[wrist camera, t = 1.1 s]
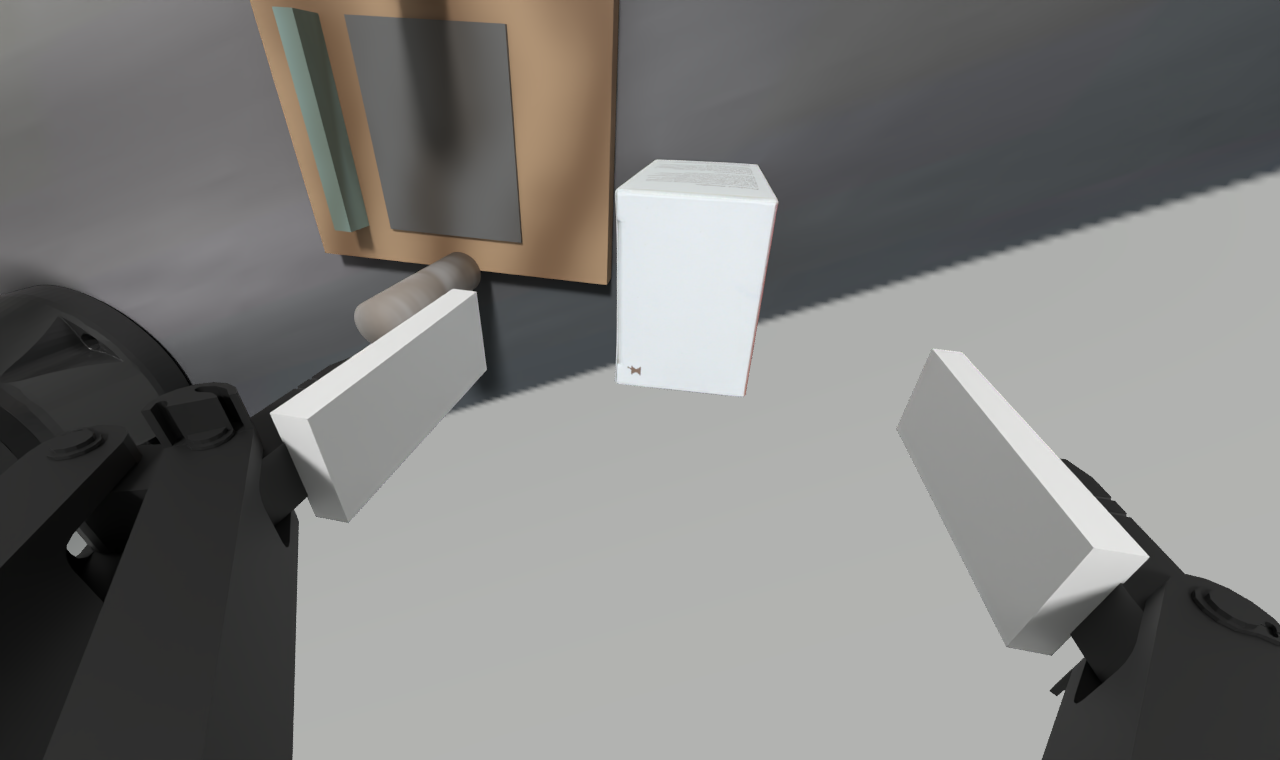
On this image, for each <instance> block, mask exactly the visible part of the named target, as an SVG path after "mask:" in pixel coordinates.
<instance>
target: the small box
mask: <svg viewBox="0 0 1280 760" xmlns="http://www.w3.org/2000/svg"><path fill="white" fill-rule="evenodd" d="M615 203H616V223H617V349H616V368H615V383H617V384H625V385H634V386H642V387H651V388H660V389H671V390H679V391H689V392H697V393H706V394H716V395H726V396H737V397H744V396H745V395H746V389H747V383H748V377H749V371H750V365H751V359H752V353H753V348H754V342H755V336H756V330H757V324H758V318H759V312H760V307H761V301H762V295H763V289H764V283H765V277H766V271H767V265H768V259H769V253H770V248H771V242H772V236H773V230H774V224H775V218H776V212H777V207H778V199H777V198H776V196H775V194H774V193H773V191H772V189H771V187H770V186H769V184H768V182H767V180H766V179H765V177H764V175H763V173H762V172H761V170H760V168H759V166H758V165H753V164H740V163H723V162H702V161H682V160H655V161H653V162H652V163H651V164H649V165H648V166H647V167H645V168H644V169H643V170H641V171H640V172H638V173H637V174H636V175H634V176H633V177H632V178H631V179H629V180H628V181H627V182H625V183H624V184H623V185H622V186H620V187H619V188H618V189H617V190H616V191H615Z"/></svg>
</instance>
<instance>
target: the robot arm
mask: <svg viewBox="0 0 1280 760" xmlns="http://www.w3.org/2000/svg"><path fill="white" fill-rule="evenodd" d="M486 370H487V367H486V359H485V352H484V344H483V336H482V329H481V321H480V314H479V306H478V299H477V292H475V291H467V290H459V289H452V290H450V291H449V292H447V293H446V294H444V295H443V296H441V297H440V298H438V299H437V300H435V301H434V302H433V303H431V304H430V305H428V306H427V307H425V308H424V309H422V310H421V311H419V312H418V313H416V314H415V315H413V316H412V317H410V318H409V319H407V320H406V321H405V322H403V323H402V324H400V325H399V326H397V327H396V328H394V329H393V330H391V331H390V332H388V333H387V334H385V335H384V336H382V337H381V338H379V339H378V340H377V341H375V342H374V343H372V344H371V345H369V346H368V347H366V348H365V349H363V350H362V351H360V352H359V353H357V354H356V355H354V356H353V357H350V358H347V359H345V360H342V361H340V362H337V363H335V364H332V365H330V366H328V367H326V368H325V369H323V370H322V371H320V372H319V373H317V374H316V375H314V376H313V377H312V379H311V380H310V379H308V380H307V381H305V382H304V383H302V384H301V385H299V386H298V389H293V390H292V391H290V392H289V393H287V394H286V395H284V396H283V397H281V398H280V399H278V400H277V401H275V402H273V403H272V404H270V405H269V406H267V407H266V408H264V409H263V410H261V411H260V412H258V413H257V414H255V415H254V416H252V417H251V418H250V417H249V415H248V412H247V410H246V408H245V406H244V404H243V402H242V400H241V398H240V396H239V394H238V391H237V389H236V387H234V386H232V385H230V384H227V383H216V382H212V383H203V384H195V385H191V386H189V384H188V382H187V380H186V379H185V377H184V375H183V374H182V372H181V371H180V369H179V368H178V367H177V365H176V364H175V363H174V361H173V360H172V359H171V358H170V356H169V355H168V354H167V353H166V352H165V351H164V350H163V349H162V347H161V346H160V345H159V344H158V343H157V342H156V341H155V340H154V339H152V338H151V337H150V336H149V335H148V334H147V333H146V332H145V331H143V330H142V329H141V328H140V327H139V326H137V325H136V324H135V323H133V322H132V321H131V320H129V319H128V318H127V317H125V316H124V315H122V314H121V313H119V312H118V311H116V310H115V309H113V308H111V307H110V306H108V305H106V304H104V303H102V302H101V301H99V300H97V299H95V298H92V297H90V296H88V295H86V294H83V293H80V292H78V291H75V290H72V289H68V288H64V287H59V286H52V285H38V286H33V287H29V288H25V289H22V290H18V291H14V292H11V293H7V294H3V295H0V760H292V754H293V716H294V677H295V641H296V604H297V603H296V602H297V567H298V566H297V565H298V564H297V563H298V530H299V527H298V526H299V521H298V518H297V515H296V513H295V511H294V509H295V508H296V507H297V506H298V505H299V504H300V503H301V502H302V501H303V500H304V499H305V498H306V497H308V500H309V502H310V504H311V507H312V509H313V511H314V513H315V516H316V517H320V518H326V519H331V520H336V521H342V522H347V523H349V522H350V521H351V519H352V518H353V517H354V516H355V515H356V514H357V513H358V512H359V510H360V509H361V508H362V507H363V506H364V505H365V504H366V503H367V502H368V501H369V500H370V498H371V497H372V496H373V495H374V494H375V493H376V492H377V490H379V488H380V487H381V486H382V485H383V484H384V483H385V482H386V481H387V480H388V478H389V477H390V476H391V475H392V474H393V473H394V472H395V471H396V470H397V469H398V467H399V466H400V465H401V464H402V463H403V462H404V461H405V460H406V458H408V456H409V455H410V454H411V453H412V452H413V451H414V450H415V449H416V447H417V446H418V445H419V444H420V443H421V442H422V441H423V440H424V439H425V438H426V437H427V435H428V434H429V433H430V432H431V431H432V430H433V429H434V428H435V427H436V425H437V424H438V423H439V422H440V421H441V420H442V419H443V418H444V417H445V416H446V414H447V413H448V412H449V411H450V410H451V409H452V408H453V407H454V406H455V404H456V403H457V402H458V401H459V400H460V399H461V398H462V397H463V396H464V394H465V393H466V392H467V391H468V390H469V389H470V388H471V387H472V386H473V385H474V383H475V382H476V381H477V380H478V379H479V378H480V377H481V376H482V375H483V373H484V372H485V371H486ZM897 431H898V433H899V435H900V437H901V439H902V441H903V443H904V445H905V447H906V449H907V451H908V453H909V455H910V457H911V458H912V461H913V463H914V465H915V467H916V468H917V471H918V472H919V474H920V477H921V479H922V481H923V483H924V484H925V487H926V488H927V490H928V492H929V494H930V496H931V498H932V500H933V502H934V504H935V506H936V508H937V510H938V512H939V514H940V516H941V518H942V520H943V522H944V524H945V526H946V528H947V530H948V532H949V534H950V536H951V538H952V540H953V542H954V544H955V546H956V548H957V550H958V552H959V554H960V556H961V558H962V560H963V562H964V564H965V566H966V568H967V570H968V572H969V574H970V576H971V577H972V580H973V582H974V584H975V586H976V588H977V590H978V592H979V594H980V596H981V598H982V600H983V602H984V604H985V606H986V608H987V610H988V612H989V614H990V615H991V617H992V620H993V622H994V623H995V625H996V627H997V629H998V631H999V633H1000V635H1001V637H1002V639H1003V641H1004V643H1005V645H1006V647H1009V648H1014V649H1020V650H1025V651H1031V652H1035V653H1041V654H1046V655H1051V656H1052V655H1053V654H1054V653H1055V652H1056V651H1057V650H1058V649H1059V648H1060V647H1061V646H1062V645H1063V644H1064V643H1065V642H1066V641H1067V640H1068V639H1069V638H1070V637H1071V636H1072V638H1073V639H1074V641H1075V643H1076V644H1077V646H1078V647H1079V649H1080V650H1081V652H1082V654H1083V655H1084V658H1083V659H1082V660H1081V661H1080V662H1079V663H1078V664H1077V665H1076V666H1075V667H1074V668H1073V669H1071V670H1070V671H1069V672H1068V673H1067V674H1066V675H1065V676H1064V677H1063V678H1062V679H1061V680H1060V681H1059V682H1058V683H1057V684H1055V686H1054V687H1053V688H1052V689H1051V690H1050V692H1052V693H1053V694H1055V695H1056V696H1058V695H1059V694H1060V693H1061V692H1062V691H1063V690H1065V693H1064V696H1063V699H1062V702H1061V705H1060V708H1059V711H1058V714H1057V717H1056V720H1055V722H1054V725H1053V728H1052V731H1051V734H1050V737H1049V740H1048V743H1047V746H1046V749H1045V752H1044V755H1043V758H1042V760H1280V625H1279V623H1278V622H1277V621H1276V620H1275V619H1274V618H1273V617H1271V616H1270V615H1268V614H1267V613H1266V612H1265V611H1263V610H1262V609H1261V608H1259V607H1258V606H1257V605H1255V604H1254V603H1253V602H1251V601H1249V600H1248V599H1246V598H1244V597H1242V596H1241V595H1239V594H1237V593H1236V592H1234V591H1232V590H1230V589H1229V588H1226V587H1224V586H1221V585H1219V584H1217V583H1214V582H1212V581H1210V580H1207V579H1204V578H1200V577H1196V576H1191V575H1187V574H1184V573H1183V572H1182V571H1181V569H1179V567H1178V566H1177V565H1176V564H1175V563H1174V562H1173V561H1172V560H1171V559H1170V558H1169V557H1168V556H1167V555H1166V554H1165V553H1164V552H1163V551H1162V550H1161V549H1160V548H1159V547H1158V545H1157V544H1156V543H1155V542H1154V541H1153V540H1151V538H1150V537H1149V536H1148V535H1147V534H1146V533H1145V532H1144V531H1143V530H1142V529H1141V528H1140V527H1139V526H1138V525H1137V524H1136V523H1135V522H1134V520H1133V519H1132V518H1130V517H1126V512H1125V511H1124V510H1123V509H1122V508H1121V507H1120V506H1119V505H1118V504H1117V503H1116V502H1115V501H1112V500H1111V496H1110V495H1109V494H1108V493H1107V492H1106V491H1105V490H1104V489H1103V488H1102V487H1101V486H1100V485H1099V484H1098V483H1097V482H1096V481H1095V480H1094V479H1093V478H1092V477H1091V476H1089V475H1088V474H1086V473H1085V472H1084V471H1082V470H1080V469H1079V468H1078V467H1076V466H1075V465H1073V464H1072V463H1071V462H1069V461H1068V460H1066V459H1059V457H1058V456H1057V455H1056V454H1055V453H1054V452H1053V451H1052V450H1051V449H1050V448H1049V447H1048V445H1047V444H1046V443H1045V442H1044V441H1043V440H1042V439H1041V438H1040V437H1039V436H1038V435H1037V433H1035V431H1034V430H1033V429H1032V428H1031V427H1030V426H1029V425H1028V424H1027V423H1026V421H1025V420H1024V419H1023V418H1022V417H1021V416H1020V415H1019V414H1018V413H1017V412H1016V411H1015V410H1014V408H1013V407H1012V406H1011V405H1010V404H1009V403H1008V402H1007V401H1006V400H1005V399H1004V398H1003V396H1002V395H1001V394H1000V393H999V392H998V391H997V390H996V389H995V388H994V387H993V385H992V384H991V383H990V382H989V381H988V380H987V379H986V378H985V377H984V376H983V375H982V374H981V373H980V371H979V370H978V369H977V368H976V367H975V366H974V365H973V364H972V363H971V362H970V360H969V359H968V358H967V357H966V356H965V355H964V354H963V353H962V352H956V351H948V350H940V349H932V350H931V352H930V354H929V357H928V359H927V361H926V364H925V366H924V368H923V370H922V373H921V375H920V377H919V379H918V381H917V384H916V386H915V388H914V390H913V392H912V395H911V397H910V399H909V402H908V404H907V406H906V408H905V410H904V413H903V415H902V417H901V420H900V422H899V424H898V426H897ZM75 531H77V532H78V534H79V535H80V536H81V537H82V538H83V539H84V540H85V542H86V543H87V546H86V547H85V548H84V549H83V550H82V552H81V553H80V554H79V555H77V556H76V557H75V556H73V555H72V554H70V552H69V551H68V550H67V544H68V542H69V540H70V538H71V537H72V535H73V533H74V532H75Z"/></svg>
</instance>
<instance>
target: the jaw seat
mask: <svg viewBox="0 0 1280 760" xmlns="http://www.w3.org/2000/svg"><path fill="white" fill-rule="evenodd" d="M250 2H251V6H252V9H253V12H254V16H255V19H256V22H257V26H258V29H259V32H260V36H261V39H262V42H263V46H264V49H265V52H266V56H267V59H268V62H269V66H270V69H271V72H272V76H273V79H274V82H275V86H276V89H277V92H278V96H279V99H280V102H281V106H282V109H283V113H284V116H285V119H286V123H287V126H288V129H289V133H290V136H291V139H292V143H293V146H294V149H295V153H296V156H297V159H298V163H299V166H300V169H301V173H302V176H303V179H304V183H305V186H306V189H307V193H308V196H309V199H310V203H311V206H312V209H313V213H314V216H315V219H316V223H317V226H318V229H319V233H320V236H321V239H322V243H323V246H324V249H325V253H332V254H340V255H349V256H358V257H367V258H375V259H384V260H393V261H402V262H410V263H419V264H428V265H429V266H427V267H425V268H424V269H422V270H420V271H418V272H417V273H415V274H413V275H411V276H409V277H408V278H406V279H404V280H402V281H400V282H399V283H397V284H395V285H393V286H392V287H390V288H388V289H386V290H384V291H383V292H381V293H379V294H377V295H376V296H374V297H372V298H370V299H368V300H367V301H365V302H363V303H361V304H360V305H359V306H358V307H357V308H356V310H355V314H354V318H355V323H356V326H357V328H358V330H359V332H360V333H361V334H362V336H363V337H364V338H365V339H366V340H368V341H369V342H370V343H374V342H375V341H377V340H378V339H379V338H381V337H382V336H384V335H385V334H387V333H388V332H390V331H391V330H393V329H394V328H396V327H397V326H399V325H400V324H402V323H403V322H405V321H406V320H407V319H409V318H410V317H412V316H413V315H415V314H416V313H418V312H419V311H421V310H422V309H424V308H425V307H427V306H428V305H430V304H431V303H433V302H434V301H435V300H437V299H438V298H440V297H441V296H443V295H444V294H446V293H447V292H449V291H450V290H452V289H459V290H467V291H472V290H473V289H475V288H476V287H477V286H478V285H479V283H480V280H481V272H480V271H489V272H498V273H506V274H515V275H524V276H533V277H541V278H550V279H559V280H567V281H576V282H585V283H594V284H602V285H607V284H608V282H609V281H610V279H611V260H612V225H613V191H614V157H615V122H616V88H617V54H618V19H619V0H250Z"/></svg>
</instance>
